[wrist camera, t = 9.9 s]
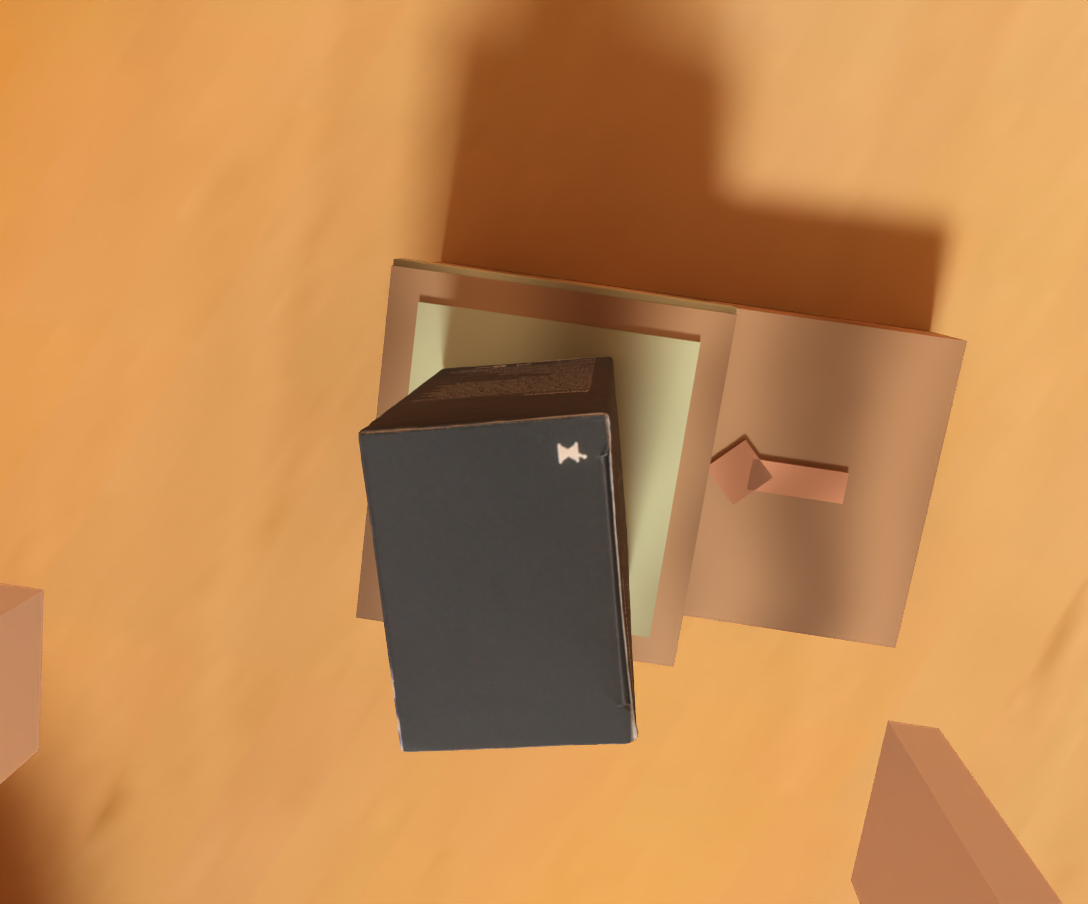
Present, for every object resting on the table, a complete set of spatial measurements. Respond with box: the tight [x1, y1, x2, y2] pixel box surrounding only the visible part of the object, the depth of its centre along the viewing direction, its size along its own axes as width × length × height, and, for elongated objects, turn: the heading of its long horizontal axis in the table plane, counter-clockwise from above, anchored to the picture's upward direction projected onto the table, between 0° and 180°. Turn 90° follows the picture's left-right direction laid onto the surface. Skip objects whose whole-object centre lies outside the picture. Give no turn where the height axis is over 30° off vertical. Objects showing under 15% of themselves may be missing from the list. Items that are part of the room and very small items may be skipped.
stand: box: [356, 259, 967, 667], centre depth 35 cm, size 20×12×9 cm, turn 82°
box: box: [359, 356, 638, 752], centre depth 26 cm, size 8×6×11 cm
